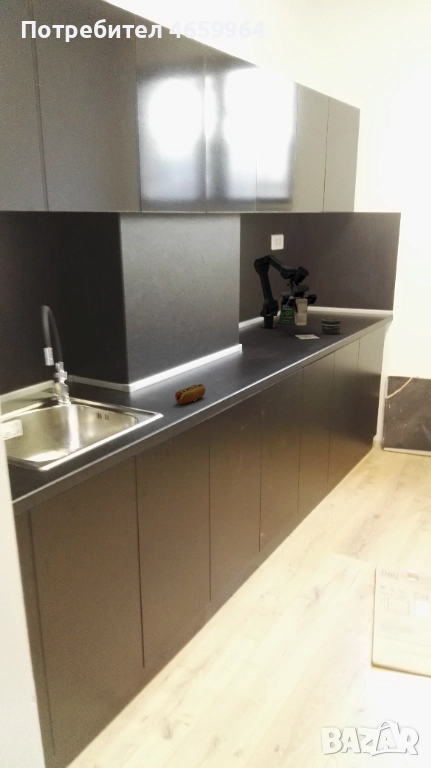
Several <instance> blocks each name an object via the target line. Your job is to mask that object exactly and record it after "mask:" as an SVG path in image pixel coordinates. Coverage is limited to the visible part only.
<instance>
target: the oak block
mask: <svg viewBox="0 0 431 768" xmlns="http://www.w3.org/2000/svg"><path fill="white" fill-rule="evenodd" d="M296 306H297V309H298V313H296V312H295V324H294V325H296V326H307V317H308V315H307V313H308V308H307V299H304V298H303V299H296Z"/></svg>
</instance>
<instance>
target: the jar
mask: <svg viewBox="0 0 431 768" xmlns="http://www.w3.org/2000/svg"><path fill="white" fill-rule="evenodd" d="M341 323H342V322H341V319H338V318H333V317H332V318H329V317H328V318H327V317H326V318H323V319H321V323H320V324H321V328H320V329H321V334H323V335H329V336H333V335H339V334H340V332H341Z"/></svg>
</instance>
